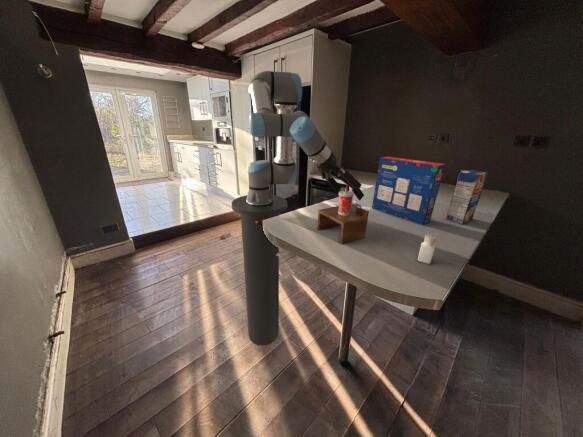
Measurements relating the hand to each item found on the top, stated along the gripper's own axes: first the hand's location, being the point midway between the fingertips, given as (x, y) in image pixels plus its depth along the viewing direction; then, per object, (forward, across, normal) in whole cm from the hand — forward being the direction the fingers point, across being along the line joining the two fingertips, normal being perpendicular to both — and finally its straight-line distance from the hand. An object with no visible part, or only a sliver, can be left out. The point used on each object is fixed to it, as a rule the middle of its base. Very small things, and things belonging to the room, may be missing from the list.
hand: (349, 193), depth 95 cm
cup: (+23, -12, -2) cm, 26 cm away
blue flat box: (+41, -2, +16) cm, 44 cm away
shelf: (+11, 0, -14) cm, 18 cm away
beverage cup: (+5, 0, -8) cm, 9 cm away
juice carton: (+57, +17, +32) cm, 67 cm away
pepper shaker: (+19, +31, -6) cm, 37 cm away
